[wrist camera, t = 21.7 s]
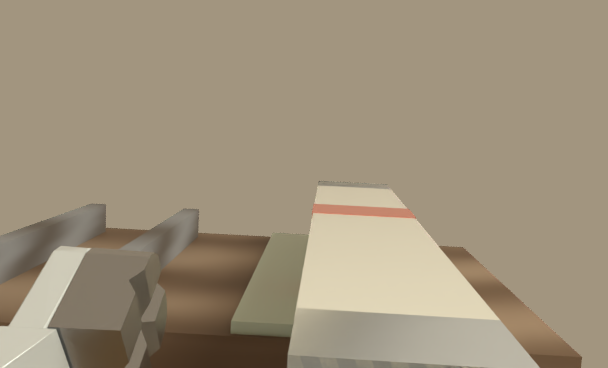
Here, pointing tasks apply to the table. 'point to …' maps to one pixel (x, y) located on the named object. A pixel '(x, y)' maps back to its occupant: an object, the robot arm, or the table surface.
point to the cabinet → (224, 288)
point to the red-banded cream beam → (388, 293)
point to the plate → (273, 289)
